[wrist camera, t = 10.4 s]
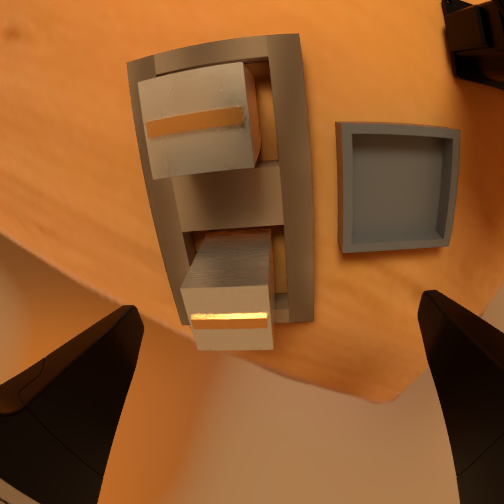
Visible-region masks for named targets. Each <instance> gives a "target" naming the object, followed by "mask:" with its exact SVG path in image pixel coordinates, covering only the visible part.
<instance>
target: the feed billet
mask: <svg viewBox="0 0 504 504" xmlns="http://www.w3.org/2000/svg"><path fill="white" fill-rule="evenodd" d="M180 290H181V294H182V298H183V301H184V305H185V308H186V312H187V315H188V319H189V322H190V326H191V329H192V332H193V336H194V339H195V342H196V346H197V349H198V350H274V311H275V275H274V263H273V250H272V238H271V228H260V229H245V230H231V231H217V232H207V234H206V236H205V238H204V240H203V242H202V244H201V246H200V248H199V250H198V252H197V254H196V256H195V258H194V260H193V263H192V265H191V267H190V269H189V271H188V273H187V275H186V277H185V279H184V281H183V283H182V285H181V288H180Z"/></svg>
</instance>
